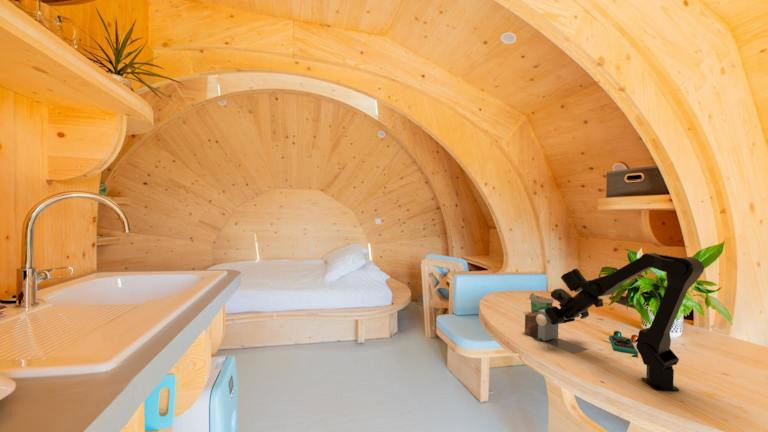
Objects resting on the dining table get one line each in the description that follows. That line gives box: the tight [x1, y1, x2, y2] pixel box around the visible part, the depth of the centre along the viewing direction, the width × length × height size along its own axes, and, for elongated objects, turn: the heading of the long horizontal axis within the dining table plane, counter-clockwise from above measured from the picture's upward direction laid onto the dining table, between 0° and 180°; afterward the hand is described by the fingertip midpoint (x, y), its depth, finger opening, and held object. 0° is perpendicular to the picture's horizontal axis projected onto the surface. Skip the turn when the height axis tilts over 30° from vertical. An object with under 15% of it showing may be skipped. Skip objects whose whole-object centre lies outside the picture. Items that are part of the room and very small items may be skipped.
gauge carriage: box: [536, 309, 559, 341], centre depth 134 cm, size 6×10×11 cm, turn 117°
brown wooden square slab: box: [524, 312, 538, 337], centre depth 140 cm, size 2×8×8 cm, turn 117°
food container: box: [528, 292, 555, 313], centre depth 165 cm, size 12×6×10 cm, turn 25°
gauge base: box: [521, 332, 589, 355], centre depth 132 cm, size 22×10×1 cm, turn 27°
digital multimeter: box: [608, 335, 639, 358], centre depth 128 cm, size 7×15×3 cm, turn 152°
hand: (552, 323), depth 132 cm, fingers closed, pressing on gauge carriage
